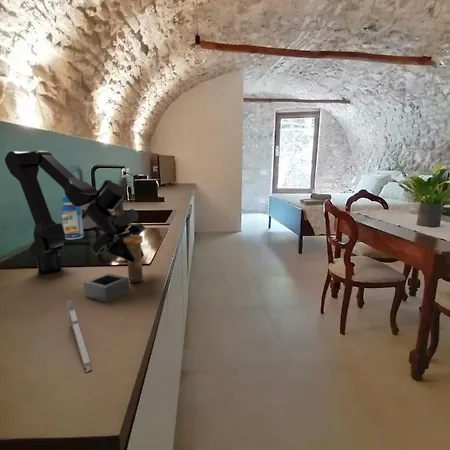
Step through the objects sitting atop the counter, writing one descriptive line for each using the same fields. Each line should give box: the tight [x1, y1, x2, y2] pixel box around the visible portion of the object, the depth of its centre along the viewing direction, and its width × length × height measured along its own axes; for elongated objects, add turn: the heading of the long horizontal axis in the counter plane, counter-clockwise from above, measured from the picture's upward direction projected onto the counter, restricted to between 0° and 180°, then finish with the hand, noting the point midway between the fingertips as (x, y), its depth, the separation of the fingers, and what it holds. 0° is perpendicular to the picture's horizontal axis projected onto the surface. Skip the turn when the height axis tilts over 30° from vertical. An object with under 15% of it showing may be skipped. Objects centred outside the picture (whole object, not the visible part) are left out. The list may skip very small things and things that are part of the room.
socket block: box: [83, 272, 130, 303], centre depth 88 cm, size 8×8×4 cm
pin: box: [124, 234, 144, 283], centre depth 96 cm, size 5×5×13 cm
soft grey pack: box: [80, 205, 97, 230], centre depth 171 cm, size 15×8×20 cm, turn 172°
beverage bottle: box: [61, 194, 85, 240], centre depth 150 cm, size 8×8×20 cm
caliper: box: [66, 299, 91, 368], centre depth 64 cm, size 20×1×6 cm, turn 33°
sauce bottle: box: [112, 199, 129, 231], centre depth 136 cm, size 7×6×20 cm
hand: (138, 258), depth 95 cm, fingers closed on pin, 4 cm apart
